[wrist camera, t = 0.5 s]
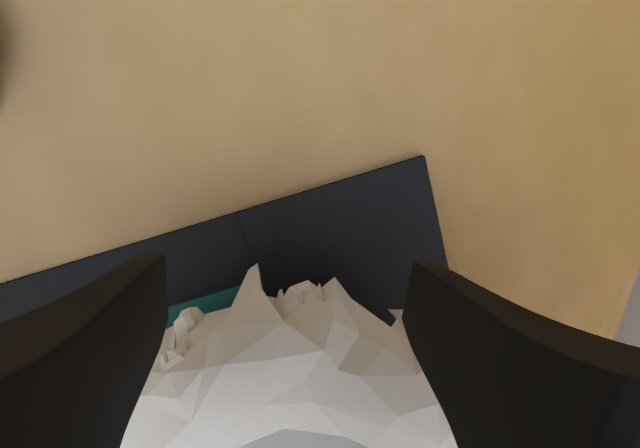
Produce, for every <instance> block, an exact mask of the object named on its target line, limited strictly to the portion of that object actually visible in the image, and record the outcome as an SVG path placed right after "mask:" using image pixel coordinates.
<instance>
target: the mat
mask: <svg viewBox="0 0 640 448" xmlns="http://www.w3.org/2000/svg"><path fill="white" fill-rule="evenodd" d="M140 254H165V259H166V278H167V297H168V316H169V317H168V321H167V325H166V329H168V328H170V327H172V326H173V325H174V321H175V320H176V319H177V318H178V316H179V315H180V313H181V311H182V310H184V309H187V308H189V307H198V308H199V309H200V310H201V311H202V313H203V314H206V313H210V312H214V311H218V310H222V309H226V308H229V307H231V306H232V304H233V302H234V300H235V298H236V295H237V293H238V291H239V289H240V287H241V285H242V283H243V280H244V278H245V276H246V274H247V272H248V270H249V269H250V268H251V267H253V266H254V265H255V264H257V263H258V267H259V271H260V277H261V283H262V289H263V292H264V293H265V294H266V296H269V297H274V298H277V296H278V292H279V290H281V289H282V291H283V294H284V295H285V293H286V292H287V290H288V288H289V287H291V286H293V285H296V284H299V283H301V282H304V281H307V280H309V281H310V282H311V283H313V284H314V285H315V286H317V287H318V285H319V282H320V285H321V288H322V287H323V286H324V285H325V284H327V283H328V282H329V281H330V280H331V279H333V278H334V277H335V278H336V279H337V281H338V282H339V283H340V284H341V286H342V287H343V288H344V290H345V291H346V292H347V294H348V295H349V296H350V297H351V299H353V300H354V301H355V302H357V303H358V304H359V305H361V306H362V307H364V308H365V309H366V310H368V311H369V312H371V313H372V314H373V315H375V316H376V317H377V318H379V319H380V320H382V321H383V322H384V323H386V324H387V325H388V326H390V327H392V325H393V324H394V322H395V321H396V319H395V318H394V317H393V316H392V314H391V313H390V312H389V311H388V309H395V310H403V308H404V303H405V298H406V293H407V288H408V283H409V278H410V273H411V268H412V263H413V261H415V262H433V263H436V264H439V265H441V266H443V267H445V268H447V269H448V264H447V259H446V255H445V250H444V245H443V240H442V236H441V231H440V226H439V222H438V217H437V212H436V207H435V203H434V198H433V193H432V188H431V184H430V179H429V174H428V170H427V165H426V160H425V156H423V155H421V156H418V157H414V158H411V159H408V160H405V161H401V162H398V163H395V164H391V165H388V166H385V167H382V168H378V169H375V170H372V171H368V172H365V173H362V174H359V175H355V176H352V177H349V178H346V179H342V180H339V181H336V182H332V183H329V184H326V185H323V186H319V187H316V188H313V189H309V190H306V191H303V192H300V193H296V194H293V195H290V196H286V197H283V198H280V199H277V200H273V201H270V202H267V203H264V204H260V205H257V206H254V207H250V208H247V209H244V210H241V211H237V212H234V213H231V214H227V215H224V216H221V217H218V218H214V219H211V220H208V221H204V222H201V223H198V224H195V225H191V226H188V227H185V228H182V229H178V230H175V231H172V232H168V233H165V234H162V235H159V236H155V237H152V238H149V239H145V240H142V241H139V242H136V243H132V244H129V245H126V246H122V247H119V248H116V249H113V250H109V251H106V252H103V253H100V254H96V255H93V256H90V257H86V258H83V259H80V260H77V261H73V262H70V263H67V264H63V265H60V266H57V267H54V268H50V269H47V270H44V271H40V272H37V273H34V274H31V275H27V276H24V277H21V278H18V279H14V280H11V281H8V282H4V283H1V284H0V323H1V322H4V321H7V320H9V319H12V318H15V317H17V316H19V315H22V314H24V313H27V312H29V311H32V310H34V309H36V308H39V307H41V306H43V305H45V304H48V303H50V302H52V301H54V300H56V299H58V298H60V297H62V296H64V295H66V294H68V293H70V292H72V291H74V290H76V289H78V288H80V287H82V286H84V285H86V284H88V283H89V282H91V281H93V280H95V279H97V278H98V277H100V276H102V275H104V274H105V273H107V272H109V271H111V270H112V269H114V268H116V267H118V266H119V265H121V264H123V263H125V262H126V261H128V260H130V259H132V258H134V257H136V256H138V255H140ZM166 329H165V330H166Z"/></svg>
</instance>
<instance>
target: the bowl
mask: <svg viewBox="0 0 640 448" xmlns="http://www.w3.org/2000/svg"><path fill="white" fill-rule="evenodd" d="M388 311H389V312H390V313H391V314H392V316H393V317H394V318H395V319H396V321H395V322H394V324H393V325H392V327H390V326H388V325H387V324H386V323H384V322H383V321H382V320H380V319H379V318H377V317H376V316H375V315H373V314H372V313H371V312H369V311H368V310H366V309H365V308H364V307H362V306H361V305H359V304H358V303H357V302H355V301H354V300H353V299H351V297H350V296H349V295H348V294H347V292H346V291H345V290H344V288H343V287H342V286H341V284H340V283H339V282H338V281H337V279H336V278H335V277H334V278H333V279H331V280H330V281H329V282H328V283H327V284H325V285H324V286H323V287H322V288H321V285H320V282H319V285H318V287H317V286H315V285H314V284H313V283H311V282H310V281H309V280H307V281H304V282H301V283H299V284H296V285H293V286H291V287H289V288H288V290H287V292H286V293H285V295H284V294H283V291H282V289H281V290H279V292H278V296H277V298H274V297H269V296H266V294H265V293H264V292H263V289H262V283H261V277H260V271H259V267H258V263H257V264H255V265H254V266H253V267H251V268H250V269H249V270H248V272H247V274H246V276H245V278H244V280H243V283H242V285H241V287H240V289H239V291H238V293H237V295H236V298H235V300H234V302H233V304H232V306H231V307H229V308H226V309H222V310H218V311H214V312H210V313H206V314H203V313H202V311H201V310H200V309H199V308H198V307H189V308H187V309H184V310H182V311H181V313H180V315H179V316H178V318H177V319H176V320H175V321H174V325H173V326H172V327H170V328H168V329H166V330H165V333H164V336H163V340H162V344H161V347H160V350H159V352H158V355H157V357H156V359H155V362H154V364H153V367H152V369H151V371H150V374H149V376H148V378H147V381H146V383H145V385H144V388H143V390H142V392H141V395H140V397H139V399H138V402H137V404H136V406H135V409H134V411H133V413H132V416H131V418H130V420H129V423H128V426H127V428H126V431H125V434H124V436H123V439H122V443H121V446H120V448H458V447H457V444H456V441H455V439H454V436H453V433H452V431H451V428H450V426H449V423H448V421H447V419H446V417H445V414H444V412H443V410H442V408H441V406H440V404H439V402H438V400H437V398H436V396H435V394H434V392H433V390H432V388H431V386H430V384H429V382H428V381H427V379H426V377H425V375H424V373H423V371H422V369H421V367H420V365H419V363H418V361H417V359H416V357H415V355H414V353H413V350H412V348H411V346H410V343H409V340H408V338H407V335H406V332H405V328H404V325H403V322H402V319H401V318H402V313H403V310H395V309H388Z"/></svg>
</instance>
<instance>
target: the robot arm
mask: <svg viewBox="0 0 640 448" xmlns="http://www.w3.org/2000/svg"><path fill="white" fill-rule="evenodd" d="M168 317H169V316H168V297H167V278H166V259H165V254H140V255H138V256H136V257H134V258H132V259H130V260H128V261H126V262H125V263H123V264H121V265H119V266H118V267H116V268H114V269H112V270H111V271H109V272H107V273H105V274H104V275H102V276H100V277H98V278H97V279H95V280H93V281H91V282H89V283H88V284H86V285H84V286H82V287H80V288H78V289H76V290H74V291H72V292H70V293H68V294H66V295H64V296H62V297H60V298H58V299H56V300H54V301H52V302H50V303H48V304H45V305H43V306H41V307H39V308H36V309H34V310H32V311H29V312H27V313H24V314H22V315H19V316H17V317H15V318H12V319H9V320H7V321H4V322H1V323H0V448H120V446H121V443H122V439H123V436H124V434H125V431H126V428H127V426H128V423H129V420H130V418H131V416H132V413H133V411H134V409H135V406H136V404H137V402H138V399H139V397H140V395H141V392H142V390H143V388H144V385H145V383H146V381H147V378H148V376H149V374H150V371H151V369H152V367H153V364H154V362H155V359H156V357H157V355H158V352H159V350H160V347H161V344H162V340H163V336H164V333H165V329H166V325H167V321H168ZM401 319H402V322H403V325H404V328H405V332H406V335H407V338H408V340H409V343H410V346H411V348H412V350H413V353H414V355H415V357H416V359H417V361H418V363H419V365H420V367H421V369H422V371H423V373H424V375H425V377H426V379H427V381H428V382H429V384H430V386H431V388H432V390H433V392H434V394H435V396H436V398H437V400H438V402H439V404H440V406H441V408H442V410H443V412H444V414H445V417H446V419H447V421H448V423H449V426H450V428H451V431H452V433H453V436H454V439H455V441H456V444H457V447H458V448H640V348H639V347H635V346H631V345H627V344H624V343H620V342H617V341H614V340H610V339H607V338H603V337H600V336H597V335H594V334H591V333H588V332H585V331H582V330H579V329H576V328H573V327H570V326H568V325H565V324H562V323H559V322H557V321H554V320H552V319H549V318H547V317H544V316H542V315H540V314H537V313H535V312H532V311H530V310H528V309H526V308H523V307H521V306H519V305H517V304H515V303H513V302H511V301H509V300H507V299H505V298H502V297H500V296H499V295H497V294H495V293H493V292H491V291H489V290H487V289H485V288H483V287H481V286H479V285H477V284H476V283H474V282H472V281H470V280H468V279H466V278H464V277H463V276H461V275H459V274H457V273H455V272H453V271H451V270H449V269H447V268H445V267H443V266H441V265H439V264H436V263H433V262H415V261H413V263H412V268H411V273H410V278H409V283H408V288H407V293H406V298H405V303H404V308H403V313H402V318H401Z"/></svg>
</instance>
